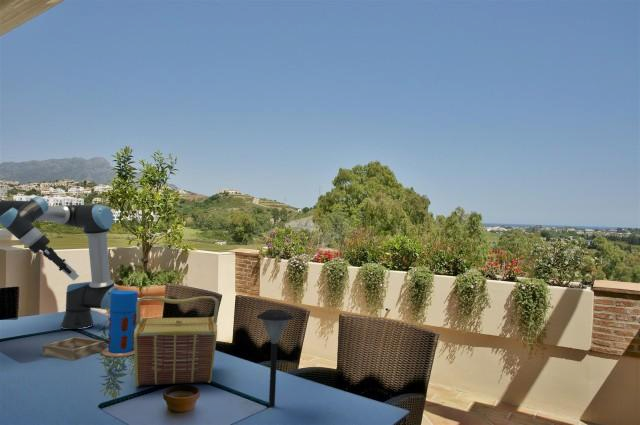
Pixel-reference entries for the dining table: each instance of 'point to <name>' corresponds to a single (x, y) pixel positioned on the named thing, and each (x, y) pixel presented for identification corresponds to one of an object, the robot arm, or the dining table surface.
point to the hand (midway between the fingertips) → (75, 276)
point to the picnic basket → (174, 347)
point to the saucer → (107, 353)
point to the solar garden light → (274, 341)
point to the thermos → (122, 321)
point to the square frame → (63, 351)
